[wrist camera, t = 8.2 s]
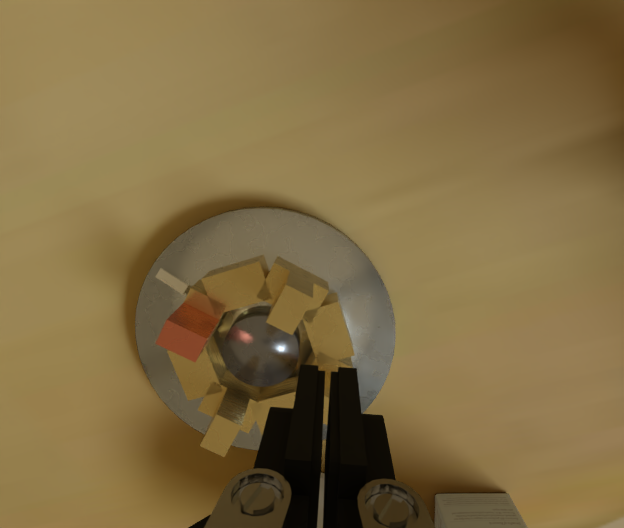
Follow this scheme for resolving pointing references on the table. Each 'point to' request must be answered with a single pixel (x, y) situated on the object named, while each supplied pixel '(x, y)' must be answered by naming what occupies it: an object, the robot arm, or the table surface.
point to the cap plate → (264, 305)
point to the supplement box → (476, 511)
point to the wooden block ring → (283, 315)
